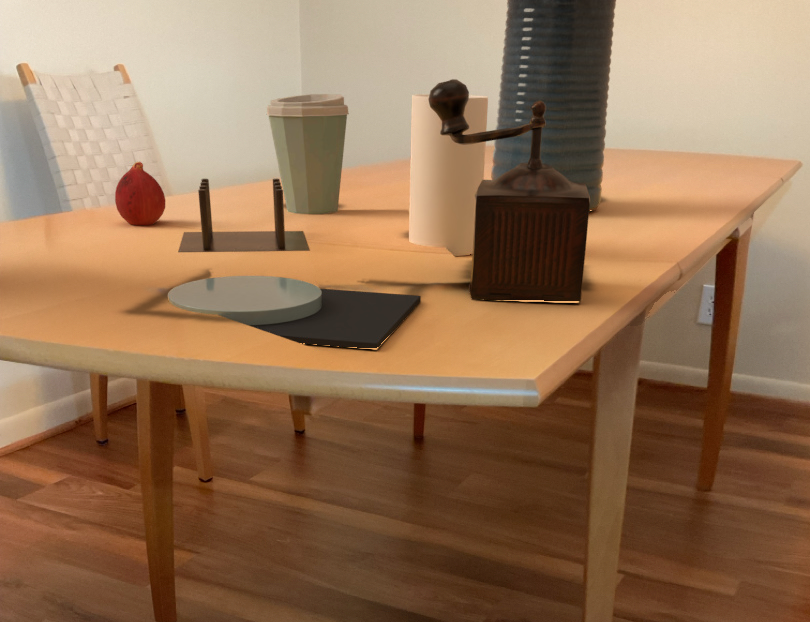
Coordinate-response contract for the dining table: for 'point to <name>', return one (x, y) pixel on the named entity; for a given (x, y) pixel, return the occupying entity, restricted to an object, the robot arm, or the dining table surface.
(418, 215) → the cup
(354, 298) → the mat
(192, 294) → the plate
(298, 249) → the rack
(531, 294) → the manual coffee grinder
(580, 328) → the dining table surface
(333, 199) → the disposable coffee cup
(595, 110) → the vase
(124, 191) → the pomegranate
